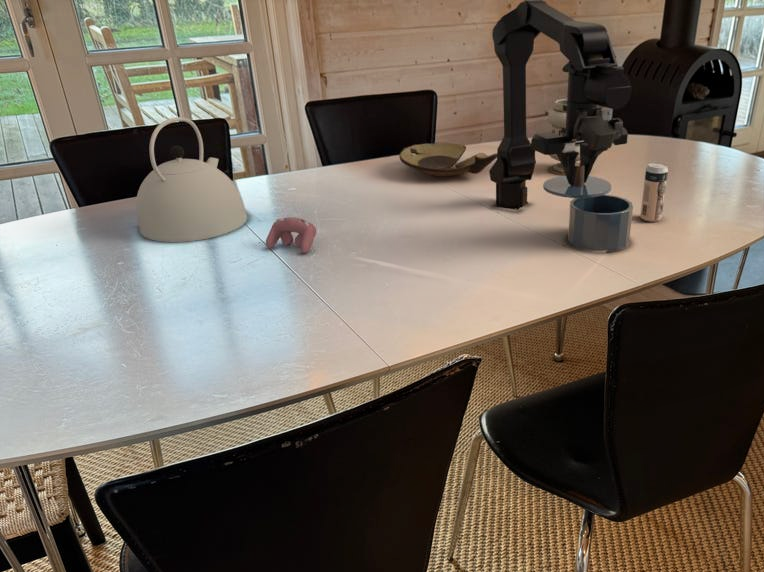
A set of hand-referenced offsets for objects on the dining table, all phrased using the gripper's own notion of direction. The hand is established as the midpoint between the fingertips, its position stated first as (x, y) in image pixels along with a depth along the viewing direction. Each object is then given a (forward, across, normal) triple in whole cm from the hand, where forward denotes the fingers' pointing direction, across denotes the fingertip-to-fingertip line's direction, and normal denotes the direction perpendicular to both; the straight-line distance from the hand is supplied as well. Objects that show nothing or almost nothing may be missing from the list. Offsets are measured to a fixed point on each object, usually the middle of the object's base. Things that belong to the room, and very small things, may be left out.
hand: (577, 183), depth 132 cm
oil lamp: (+12, -4, +57) cm, 58 cm away
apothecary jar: (+12, +27, +45) cm, 54 cm away
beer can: (+12, +23, +3) cm, 26 cm away
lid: (+1, 0, 0) cm, 1 cm away
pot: (+12, +4, -2) cm, 13 cm away
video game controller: (+12, -53, +24) cm, 59 cm away
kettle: (+12, -69, +50) cm, 86 cm away
